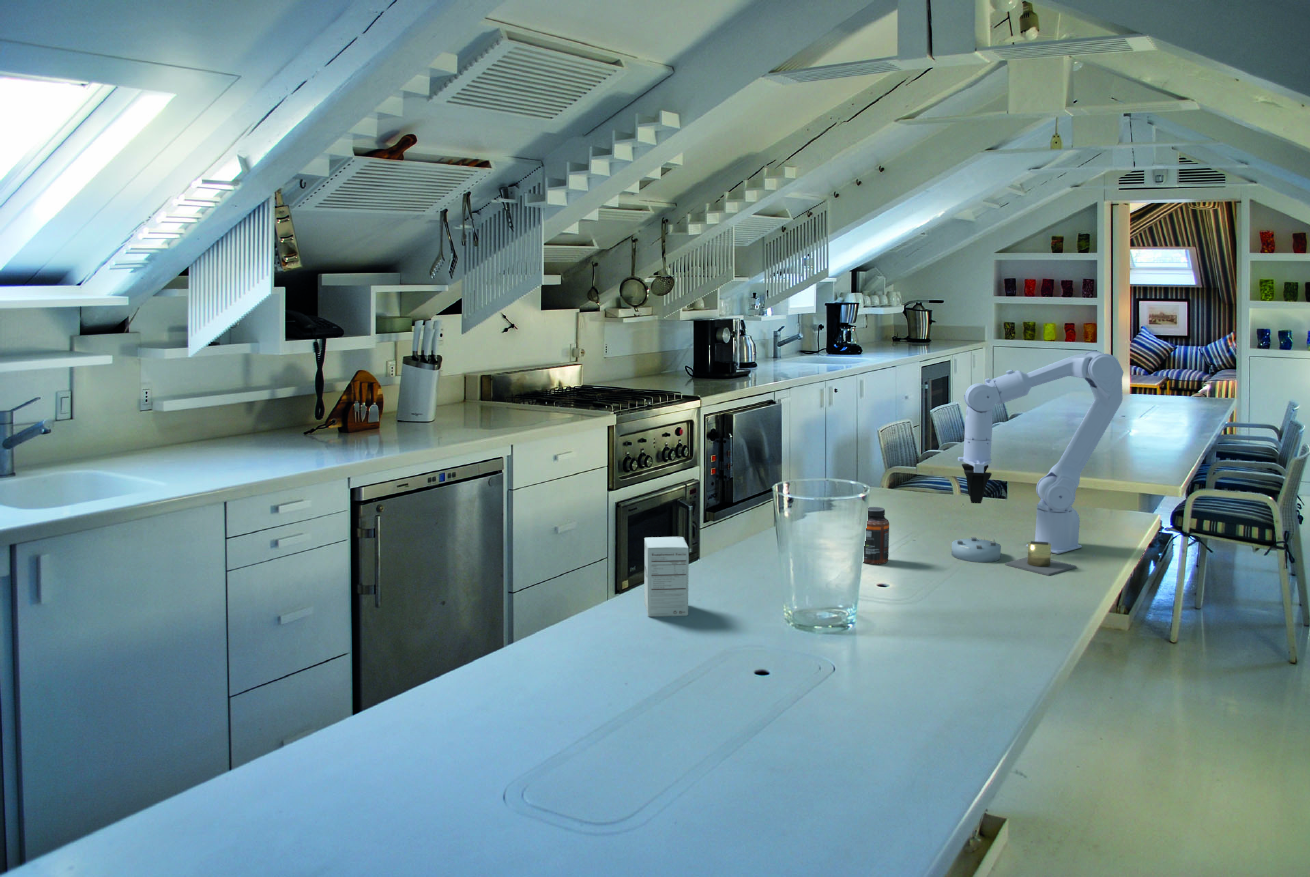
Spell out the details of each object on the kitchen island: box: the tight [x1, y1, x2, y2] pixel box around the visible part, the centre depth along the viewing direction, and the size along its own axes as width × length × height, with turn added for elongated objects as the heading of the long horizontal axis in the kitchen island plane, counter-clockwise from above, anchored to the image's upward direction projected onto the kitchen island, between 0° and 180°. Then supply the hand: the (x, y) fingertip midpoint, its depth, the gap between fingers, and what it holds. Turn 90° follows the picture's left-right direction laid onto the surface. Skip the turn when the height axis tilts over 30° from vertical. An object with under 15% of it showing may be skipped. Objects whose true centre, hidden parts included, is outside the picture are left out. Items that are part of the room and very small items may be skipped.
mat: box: [1004, 556, 1077, 577], centre depth 218 cm, size 10×10×1 cm
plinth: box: [951, 536, 1002, 563], centre depth 226 cm, size 10×10×3 cm
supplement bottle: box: [863, 506, 890, 565], centre depth 221 cm, size 6×6×11 cm
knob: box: [1027, 540, 1052, 566], centre depth 218 cm, size 4×4×5 cm
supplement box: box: [643, 536, 690, 618], centre depth 188 cm, size 7×7×13 cm
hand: (974, 499), depth 234 cm, fingers open, 7 cm apart
